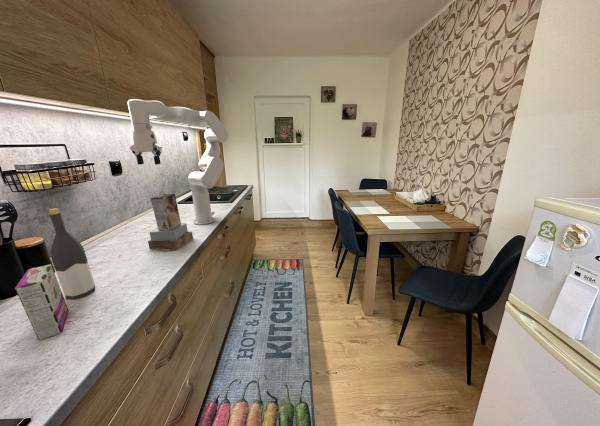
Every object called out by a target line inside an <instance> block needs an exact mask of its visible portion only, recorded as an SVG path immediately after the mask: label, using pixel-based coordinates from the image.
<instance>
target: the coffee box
mask: <svg viewBox="0 0 600 426" xmlns="http://www.w3.org/2000/svg"><path fill="white" fill-rule="evenodd" d="M150 201H151V205H152V209H153V212H154V213H153V214H154V218H155V222H156V228H157V227H158V230H162V231H163V230H164V231H170V230H172V229H173V228H175V227H177V226H179V225H181V223H182V222H181V221H182V220H181V218H180V212H179V208H178V202H177V198H176V194H175V193H162V194H159V195H156V196H153V197H150Z"/></svg>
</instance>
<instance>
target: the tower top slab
mask: <svg viewBox="0 0 600 426" xmlns="http://www.w3.org/2000/svg"><path fill="white" fill-rule="evenodd" d="M187 225H188V224H187V223H186V222H181V225H179V226H177V227H175V228H173V229H172V230H170V231H164V230H163V231H162V230H158V227H157V226H156V227H154V229H152V230H151V231H149V232H148V233H149V238H150V240H151V241H176V240H178V239H179V238H180V237H181V236H182V235H184V234H185V233H186V232H187V231H188V226H187ZM188 232H189V231H188Z"/></svg>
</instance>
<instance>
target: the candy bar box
mask: <svg viewBox="0 0 600 426" xmlns="http://www.w3.org/2000/svg"><path fill="white" fill-rule="evenodd" d="M52 265H53V264H50V263H49V264H45V265H41V266H37V267H32V268H28V269H27V270H26V272H25V273H24V275H23V276H22V278H21V279H20V280H19V282H18V283H17V285H16V286H15V288H14V290H15V292H16V294H17V296H18V299H19V300H20V303H21V305H22V307H23V309H24V311H25V314H26V316H27V318H28V320H29V322H30V325H31V327H32V329H33V331H34V333H35V336H36V338H37V340H38V341H43V340H46V339H49V338H51V337H54V336H57V335H60V334H63V331H64V329H65V326H66V325H65V324H66V322H67V319H68V315H69V311H70V310H69V307H68V305H67V304H68V303H67V302H66V300H65V299H66V298H65V296H64V295H63V294H64V293H63V290H62V288H61V287H60V286H61V285H60V284H59V280H58V279H57V276H56V273H55V271H54V267H53V266H52Z"/></svg>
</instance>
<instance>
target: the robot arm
mask: <svg viewBox="0 0 600 426" xmlns="http://www.w3.org/2000/svg"><path fill="white" fill-rule="evenodd" d="M127 106H128V112H129V117H130V122H131V126H132V130H133V131H132V143H133V144H132V145H131V146H129V150H130V151H131V153H132V154H133V155H134V156H135V157H136V161H137V165H138V166H139V165H144V157H143V156H142V154H143V153H151V154H153V162H154V165H161V159H160V158H161V154H162V152H163V146H162V145H160V144H159V143H158V140H157V137H156V134H155V132H154V131H153V130H152V129H153V125H152V124H151V120H155V121H161V122H168V123H174V124H181V125H182V124H183V125H188V126H194V127H199V128H206V129H205V130H204V133H203V135H204V136H203V137H204V139H205V143H206V149H205V151H204V153H203V154H202V156H201V158H200V160H199V161H198V168H199V170H200V171H199V170H194V171H192V172H190V173H189V175H188V177H187V178H188V179H187V181H188V184H189V187H190V191H191V197H192V203H193V210H194V216H195V219H194V220H193V224H194V225H208V224H211V223H214V222H215V220H216V219H215V217H213V216H214V215H215V214H216V212H215V211H212V209H211V200H210V193H209V189H212V188H213V187H214V186H215V185H216V183H217V181H218V180H219V178H220V177H221V174H222V172H223V170H224V162H223V160H222V158H221V157H220V155H221V147H220V144H219V143H224V142H225V143H226V141H228V139H229V132H228V130H227V128H226V127H225V125H224V124H223V123H222V122H221V121H220V119H219V118H218V116H217V115H216V113H214V112H213V111H211V110H203V111H200V110H195V109H191V108H188V107H184V106H166V104H165V103H163V102H162V101H159V100H142V99H136V98H135V99H134V98H133V99H128V101H127Z"/></svg>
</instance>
